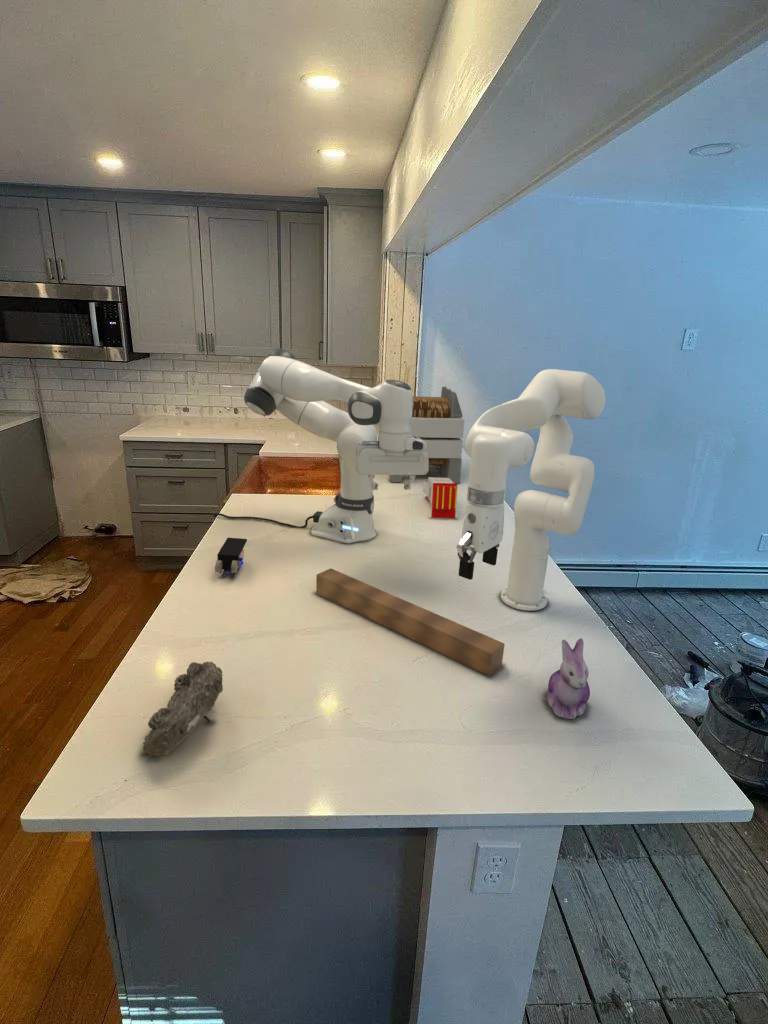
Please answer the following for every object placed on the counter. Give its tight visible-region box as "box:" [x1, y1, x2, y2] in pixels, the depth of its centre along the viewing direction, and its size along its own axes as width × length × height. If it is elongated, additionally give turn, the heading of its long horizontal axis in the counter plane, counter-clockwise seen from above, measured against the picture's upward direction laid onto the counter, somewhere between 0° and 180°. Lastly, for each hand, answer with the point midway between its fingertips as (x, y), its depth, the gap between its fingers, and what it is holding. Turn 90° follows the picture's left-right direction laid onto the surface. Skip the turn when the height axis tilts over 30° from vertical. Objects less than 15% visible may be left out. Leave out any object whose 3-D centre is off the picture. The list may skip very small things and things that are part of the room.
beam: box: [315, 568, 506, 677], centre depth 141 cm, size 54×6×6 cm, turn 50°
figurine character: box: [214, 537, 248, 578], centre depth 166 cm, size 7×8×15 cm
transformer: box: [388, 386, 465, 484], centre depth 268 cm, size 34×33×41 cm
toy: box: [422, 476, 458, 519], centre depth 227 cm, size 12×13×30 cm
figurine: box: [546, 637, 591, 720], centre depth 113 cm, size 9×10×15 cm
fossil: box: [142, 661, 224, 757], centre depth 105 cm, size 22×10×15 cm
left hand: (390, 489), depth 160 cm, fingers open, 8 cm apart
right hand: (477, 570), depth 123 cm, fingers open, 9 cm apart
